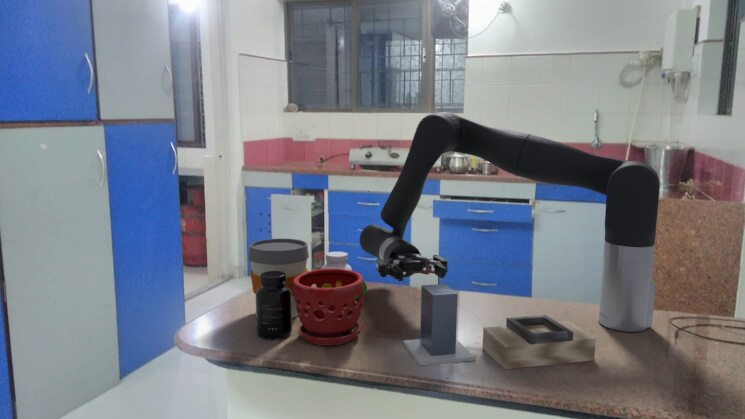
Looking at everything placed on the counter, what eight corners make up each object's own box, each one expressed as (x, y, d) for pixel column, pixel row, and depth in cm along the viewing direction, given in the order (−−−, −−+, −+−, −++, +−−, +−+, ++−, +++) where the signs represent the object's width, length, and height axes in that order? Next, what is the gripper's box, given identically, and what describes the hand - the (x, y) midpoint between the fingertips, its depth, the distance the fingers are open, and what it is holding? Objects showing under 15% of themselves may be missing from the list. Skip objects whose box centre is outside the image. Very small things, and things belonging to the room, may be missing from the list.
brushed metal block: (443, 341, 107) (444, 283, 105) (455, 353, 101) (457, 293, 99) (420, 343, 106) (421, 285, 104) (431, 356, 100) (432, 295, 98)
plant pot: (306, 322, 118) (306, 265, 116) (369, 328, 115) (370, 269, 113) (284, 347, 105) (283, 283, 103) (354, 354, 102) (354, 288, 100)
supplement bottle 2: (347, 318, 120) (347, 258, 118) (317, 315, 122) (317, 256, 120) (355, 308, 127) (355, 251, 125) (326, 305, 128) (326, 249, 126)
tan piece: (565, 341, 109) (567, 313, 108) (594, 360, 100) (596, 330, 100) (482, 348, 105) (483, 319, 104) (505, 369, 96) (506, 338, 96)
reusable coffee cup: (321, 310, 125) (320, 242, 123) (282, 327, 115) (281, 254, 112) (277, 300, 132) (276, 235, 130) (237, 315, 122) (235, 246, 119)
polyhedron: (370, 297, 135) (370, 277, 134) (361, 303, 130) (361, 283, 129) (351, 294, 137) (351, 275, 136) (341, 300, 132) (341, 280, 131)
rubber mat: (453, 339, 110) (453, 335, 109) (474, 360, 100) (474, 357, 100) (403, 343, 107) (403, 340, 107) (419, 365, 98) (419, 362, 98)
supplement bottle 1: (258, 327, 115) (257, 269, 113) (293, 327, 115) (292, 268, 113) (254, 340, 108) (253, 278, 106) (291, 340, 108) (290, 278, 106)
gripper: (367, 241, 126) (387, 258, 110) (429, 237, 129) (457, 253, 113) (368, 274, 127) (387, 296, 111) (429, 270, 130) (456, 290, 115)
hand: (422, 274), depth 112 cm, fingers open, 8 cm apart
